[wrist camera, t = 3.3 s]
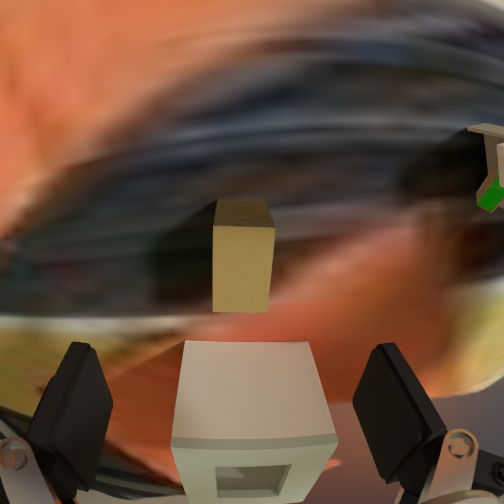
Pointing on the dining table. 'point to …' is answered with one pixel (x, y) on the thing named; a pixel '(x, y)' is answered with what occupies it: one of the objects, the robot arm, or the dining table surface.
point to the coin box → (250, 422)
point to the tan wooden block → (242, 256)
